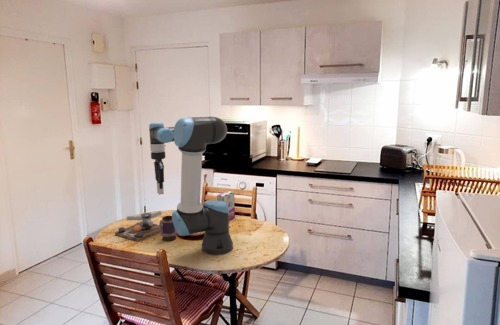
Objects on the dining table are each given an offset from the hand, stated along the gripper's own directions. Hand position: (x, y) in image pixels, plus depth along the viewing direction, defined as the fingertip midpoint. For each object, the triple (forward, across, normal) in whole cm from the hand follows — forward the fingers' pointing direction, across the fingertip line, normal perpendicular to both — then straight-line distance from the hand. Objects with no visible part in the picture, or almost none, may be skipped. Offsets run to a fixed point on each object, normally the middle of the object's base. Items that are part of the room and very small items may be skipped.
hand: (160, 193), depth 194 cm
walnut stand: (+20, 0, +12) cm, 24 cm away
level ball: (+19, -3, +14) cm, 24 cm away
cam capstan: (+19, +1, +7) cm, 20 cm away
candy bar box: (+21, -4, -38) cm, 43 cm away
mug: (+21, -17, +2) cm, 27 cm away
